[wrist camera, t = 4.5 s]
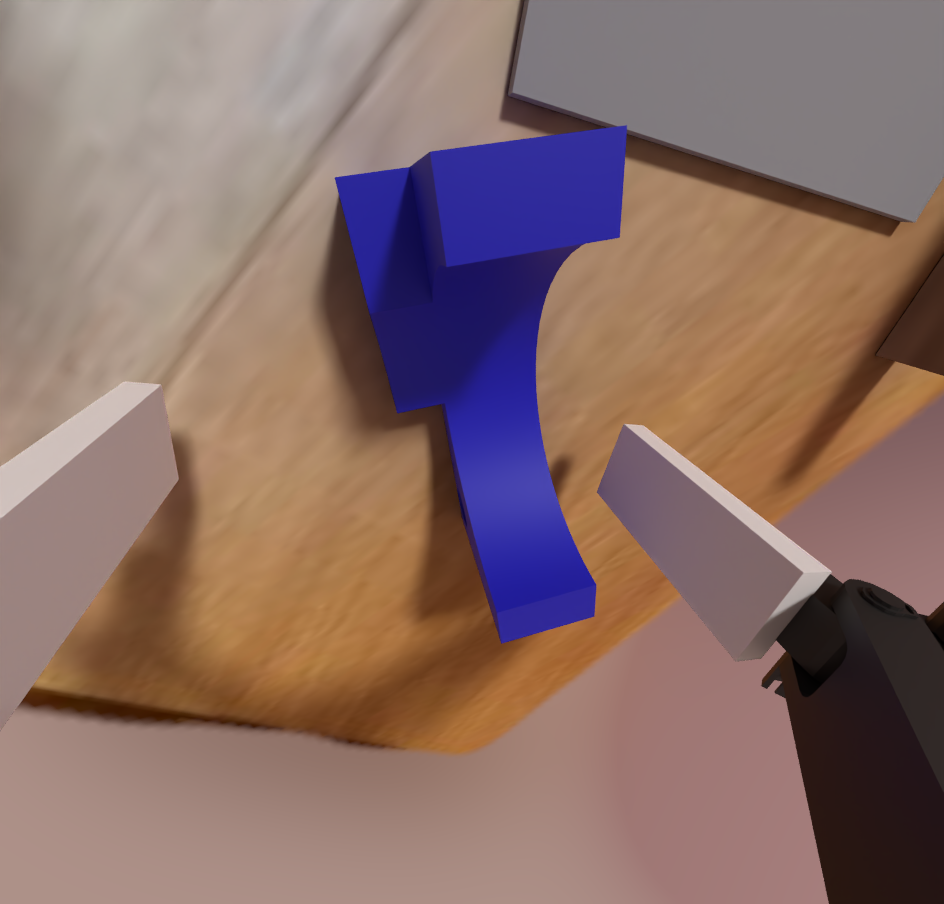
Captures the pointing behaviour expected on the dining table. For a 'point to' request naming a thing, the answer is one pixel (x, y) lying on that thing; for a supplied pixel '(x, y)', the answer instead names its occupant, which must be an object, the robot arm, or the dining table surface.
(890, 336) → the corner walls
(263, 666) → the dining table surface
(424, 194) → the blue curved block
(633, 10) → the grey mat
